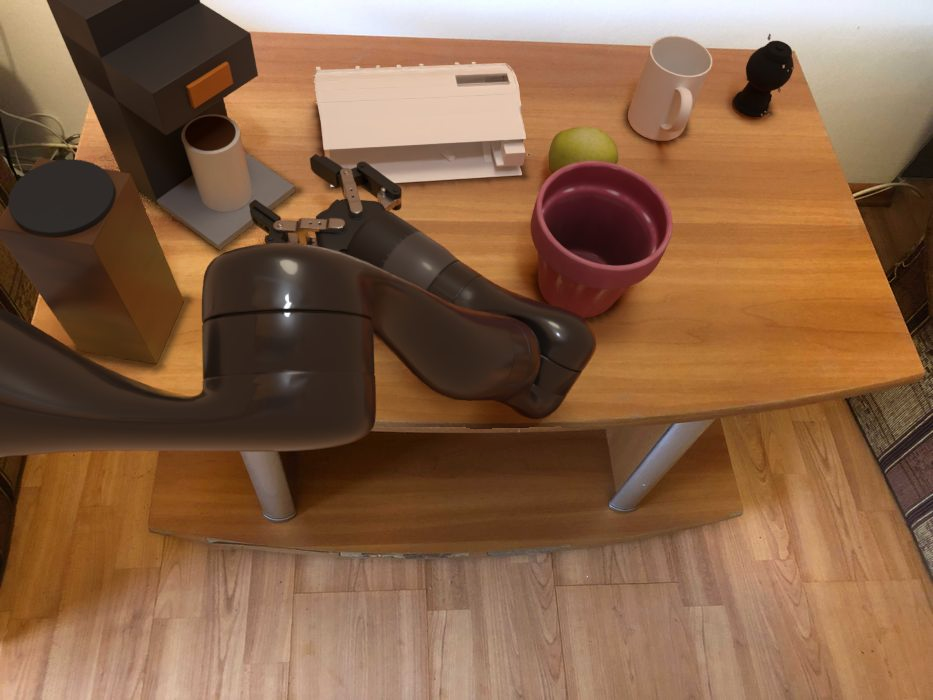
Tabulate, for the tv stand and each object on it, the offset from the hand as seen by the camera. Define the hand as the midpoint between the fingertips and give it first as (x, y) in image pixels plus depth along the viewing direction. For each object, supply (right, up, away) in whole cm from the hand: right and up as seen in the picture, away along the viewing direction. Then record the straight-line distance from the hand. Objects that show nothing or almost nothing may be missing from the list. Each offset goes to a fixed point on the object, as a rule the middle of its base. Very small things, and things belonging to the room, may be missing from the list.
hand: (283, 184), depth 76 cm
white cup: (-9, +1, +10) cm, 14 cm away
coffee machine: (-12, +2, +12) cm, 17 cm away
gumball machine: (+59, +17, +28) cm, 67 cm away
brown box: (-16, -14, +1) cm, 22 cm away
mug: (+45, +12, +24) cm, 52 cm away
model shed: (+13, +10, +19) cm, 25 cm away
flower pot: (+32, -10, +9) cm, 34 cm away
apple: (+33, +4, +17) cm, 37 cm away
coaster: (-14, -5, -15) cm, 21 cm away
